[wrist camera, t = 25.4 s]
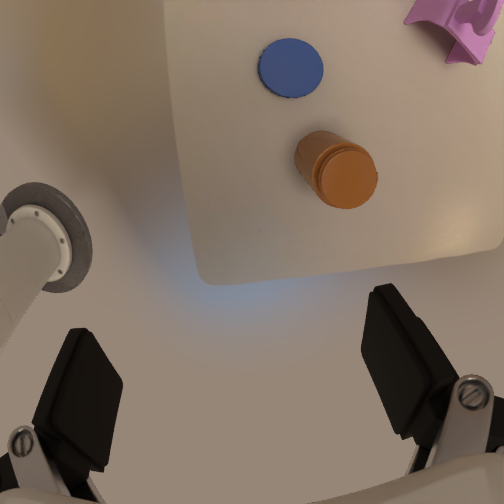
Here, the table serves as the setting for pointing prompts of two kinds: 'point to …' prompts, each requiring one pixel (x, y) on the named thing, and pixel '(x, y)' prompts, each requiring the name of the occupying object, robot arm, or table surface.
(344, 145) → the jar
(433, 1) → the toy chair
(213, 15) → the table surface
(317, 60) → the jar lid
